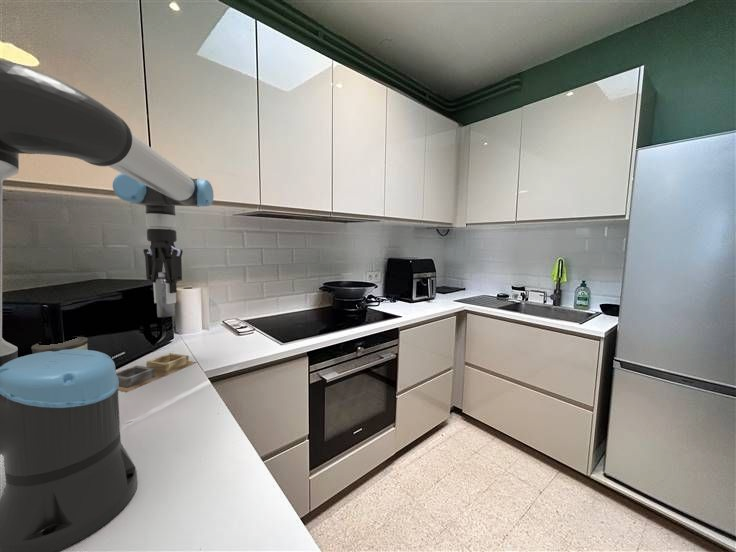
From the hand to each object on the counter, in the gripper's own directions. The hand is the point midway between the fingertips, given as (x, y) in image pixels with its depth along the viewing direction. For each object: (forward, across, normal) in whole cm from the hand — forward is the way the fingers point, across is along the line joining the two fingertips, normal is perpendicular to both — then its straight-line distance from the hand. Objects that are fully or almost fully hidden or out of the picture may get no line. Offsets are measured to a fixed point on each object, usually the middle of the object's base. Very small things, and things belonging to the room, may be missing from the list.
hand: (165, 302), depth 91 cm
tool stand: (+22, 0, +6) cm, 23 cm away
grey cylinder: (+4, 0, 0) cm, 4 cm away
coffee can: (+23, +13, +20) cm, 33 cm away
